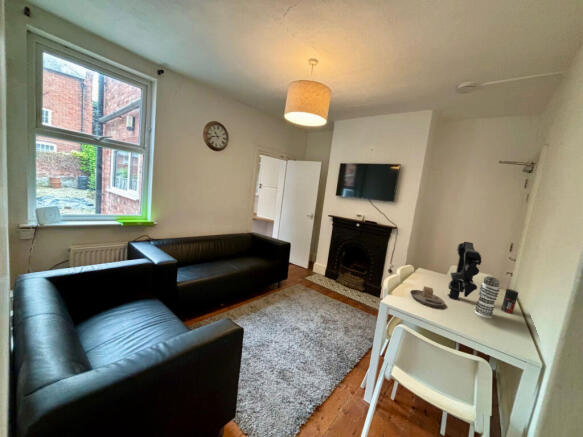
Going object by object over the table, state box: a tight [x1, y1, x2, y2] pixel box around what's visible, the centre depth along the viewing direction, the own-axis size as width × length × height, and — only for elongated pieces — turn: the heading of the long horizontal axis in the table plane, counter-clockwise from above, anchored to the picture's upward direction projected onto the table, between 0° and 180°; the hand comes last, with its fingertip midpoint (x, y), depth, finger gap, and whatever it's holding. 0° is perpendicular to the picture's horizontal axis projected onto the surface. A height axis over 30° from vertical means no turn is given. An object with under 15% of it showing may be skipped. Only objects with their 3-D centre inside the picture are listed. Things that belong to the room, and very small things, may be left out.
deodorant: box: [500, 288, 519, 315], centre depth 155 cm, size 6×6×15 cm
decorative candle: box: [474, 275, 501, 319], centre depth 146 cm, size 9×9×25 cm
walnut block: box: [422, 286, 434, 299], centre depth 157 cm, size 5×5×6 cm
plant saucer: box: [409, 289, 445, 308], centre depth 157 cm, size 21×21×3 cm
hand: (462, 293), depth 146 cm, fingers open, 9 cm apart
